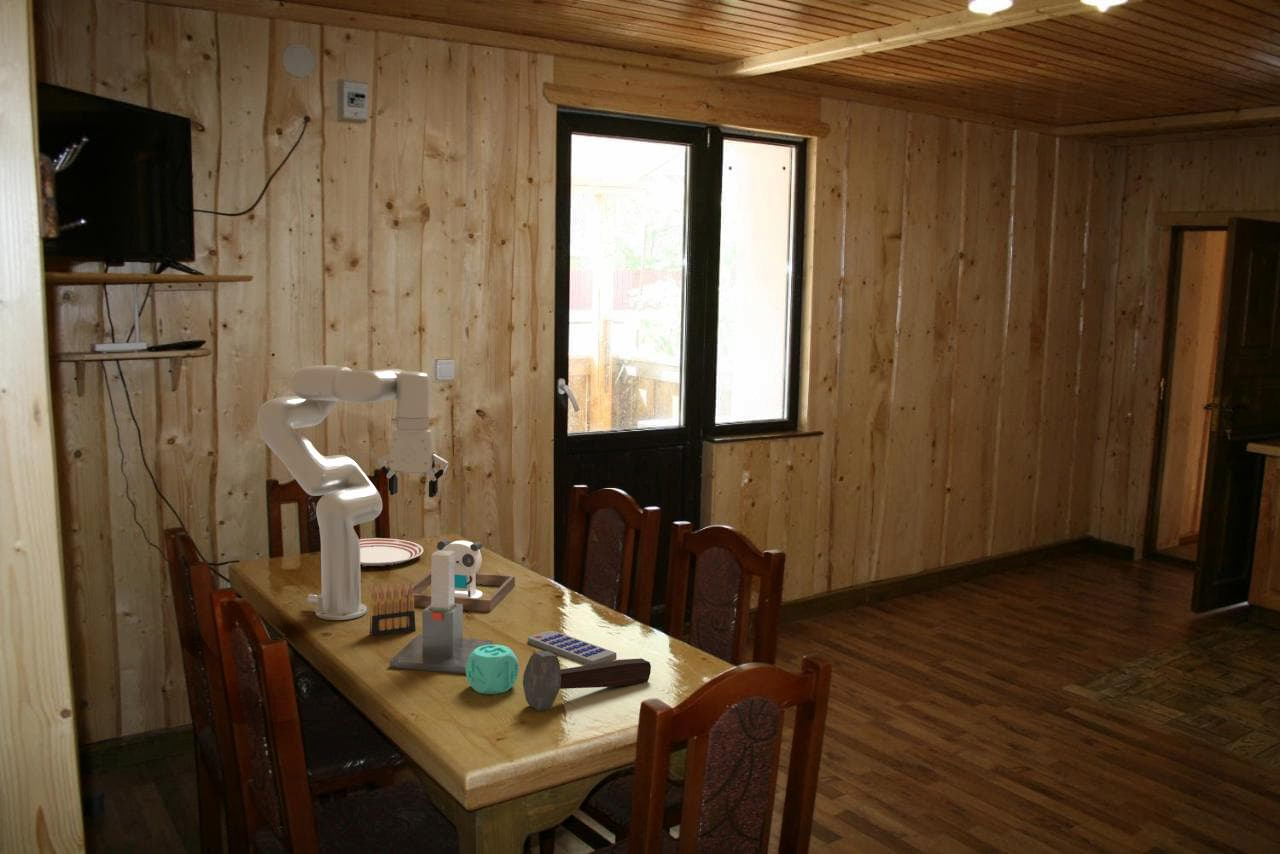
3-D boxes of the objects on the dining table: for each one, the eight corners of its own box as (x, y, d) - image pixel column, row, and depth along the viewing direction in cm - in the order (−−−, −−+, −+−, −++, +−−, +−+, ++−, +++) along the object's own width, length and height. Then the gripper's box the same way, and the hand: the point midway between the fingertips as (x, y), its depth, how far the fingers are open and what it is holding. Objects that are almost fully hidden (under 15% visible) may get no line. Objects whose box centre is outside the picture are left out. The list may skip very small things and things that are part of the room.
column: (430, 626, 235) (431, 554, 233) (437, 620, 239) (437, 550, 237) (448, 627, 235) (448, 555, 232) (454, 622, 239) (454, 551, 236)
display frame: (401, 604, 275) (401, 593, 274) (432, 580, 298) (432, 569, 298) (490, 611, 271) (490, 600, 271) (515, 585, 295) (515, 575, 294)
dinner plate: (442, 557, 323) (442, 547, 323) (375, 576, 301) (375, 565, 300) (378, 543, 338) (378, 533, 338) (310, 561, 315) (310, 550, 315)
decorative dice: (490, 697, 215) (490, 660, 214) (464, 687, 221) (465, 650, 219) (519, 687, 221) (519, 650, 220) (493, 677, 227) (494, 641, 225)
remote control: (591, 669, 234) (592, 660, 234) (524, 643, 249) (524, 634, 249) (616, 660, 240) (616, 651, 240) (549, 635, 255) (549, 627, 255)
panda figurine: (430, 598, 281) (430, 543, 279) (449, 587, 292) (449, 534, 290) (471, 603, 278) (472, 548, 276) (489, 591, 288) (489, 538, 286)
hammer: (636, 692, 230) (519, 705, 211) (642, 642, 229) (526, 650, 211) (649, 699, 226) (532, 713, 207) (656, 648, 226) (539, 657, 207)
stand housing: (389, 667, 230) (389, 616, 229) (418, 640, 248) (418, 593, 247) (468, 674, 228) (469, 622, 226) (492, 646, 245) (493, 598, 244)
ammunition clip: (371, 636, 250) (371, 587, 248) (369, 634, 251) (369, 585, 250) (415, 631, 255) (415, 582, 253) (413, 628, 256) (413, 580, 255)
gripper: (371, 424, 246) (372, 496, 249) (442, 428, 244) (442, 500, 246) (384, 420, 254) (384, 490, 256) (453, 423, 251) (453, 494, 253)
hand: (413, 495), depth 251 cm, fingers open, 9 cm apart
